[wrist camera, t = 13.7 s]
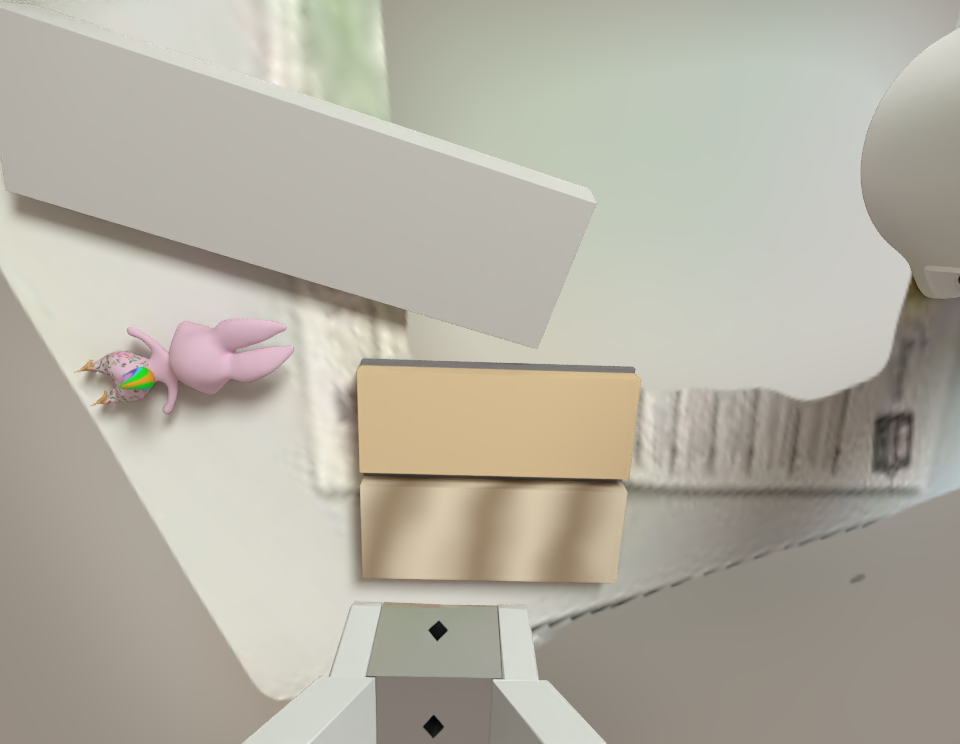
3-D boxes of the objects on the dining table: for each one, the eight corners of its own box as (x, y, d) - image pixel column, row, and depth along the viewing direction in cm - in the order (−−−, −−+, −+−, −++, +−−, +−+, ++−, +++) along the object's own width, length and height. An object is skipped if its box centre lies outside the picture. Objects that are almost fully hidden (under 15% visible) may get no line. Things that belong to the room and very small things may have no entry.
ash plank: (622, 482, 40) (627, 492, 39) (611, 570, 42) (616, 583, 41) (363, 475, 40) (359, 485, 38) (366, 565, 42) (362, 577, 41)
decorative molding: (535, 318, 40) (587, 185, 35) (537, 349, 36) (596, 203, 31) (62, 174, 37) (45, 5, 32) (6, 190, 33) (-24, -1, 28)
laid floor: (632, 366, 39) (641, 375, 37) (608, 573, 43) (615, 590, 41) (362, 358, 38) (356, 366, 36) (367, 567, 43) (362, 585, 41)
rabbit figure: (136, 412, 41) (317, 374, 37) (68, 449, 35) (273, 407, 32) (99, 333, 39) (285, 285, 36) (21, 357, 33) (233, 303, 30)
